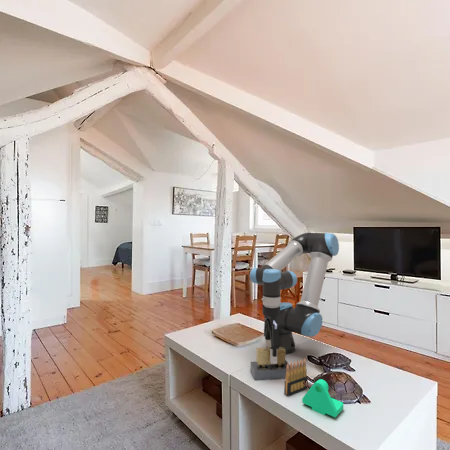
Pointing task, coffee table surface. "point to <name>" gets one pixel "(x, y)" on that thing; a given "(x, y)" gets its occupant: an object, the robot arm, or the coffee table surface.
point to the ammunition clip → (295, 378)
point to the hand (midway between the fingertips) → (270, 358)
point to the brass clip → (264, 356)
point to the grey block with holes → (268, 371)
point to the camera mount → (322, 399)
